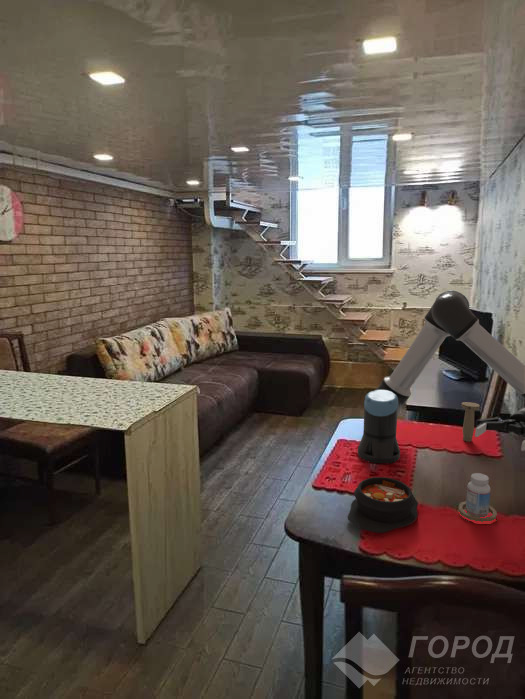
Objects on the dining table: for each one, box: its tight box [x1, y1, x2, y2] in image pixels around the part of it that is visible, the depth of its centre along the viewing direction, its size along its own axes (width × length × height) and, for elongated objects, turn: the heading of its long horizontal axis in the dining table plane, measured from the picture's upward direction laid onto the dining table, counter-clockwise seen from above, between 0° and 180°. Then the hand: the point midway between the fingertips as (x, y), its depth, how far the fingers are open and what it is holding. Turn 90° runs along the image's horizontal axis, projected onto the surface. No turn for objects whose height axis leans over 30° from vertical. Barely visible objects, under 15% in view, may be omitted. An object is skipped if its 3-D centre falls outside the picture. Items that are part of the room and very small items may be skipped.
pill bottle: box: [465, 472, 492, 517], centre depth 140 cm, size 6×6×11 cm
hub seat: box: [457, 500, 498, 522], centre depth 141 cm, size 10×10×2 cm
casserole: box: [346, 476, 419, 534], centre depth 140 cm, size 25×19×8 cm
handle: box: [460, 401, 481, 443], centre depth 191 cm, size 5×6×15 cm
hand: (498, 439), depth 148 cm, fingers open, 13 cm apart
